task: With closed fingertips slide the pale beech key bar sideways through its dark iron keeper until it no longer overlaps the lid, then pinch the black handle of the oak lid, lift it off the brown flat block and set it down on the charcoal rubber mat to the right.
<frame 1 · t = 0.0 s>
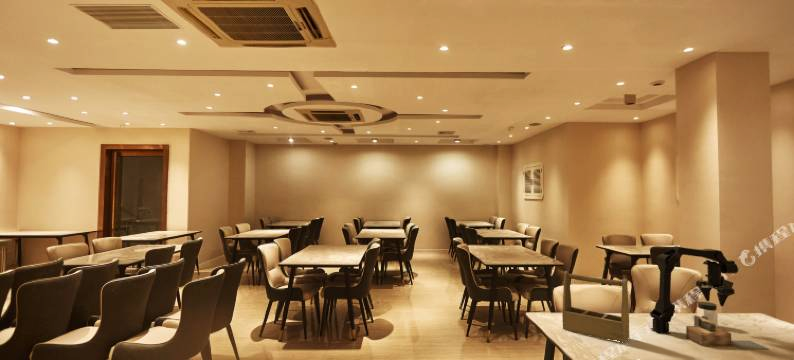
hand: (714, 303, 208), 15 cm above the table, fingers open, 9 cm apart
keeper: (701, 334, 204), on the table
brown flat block: (708, 341, 194), on the table
key: (704, 321, 202), point 7 cm above the table, slide at 0.0 cm
lid: (708, 333, 194), point 4 cm above the table, touching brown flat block
jar: (707, 326, 217), on the table
caddy: (594, 334, 204), on the table
mat: (745, 345, 190), on the table
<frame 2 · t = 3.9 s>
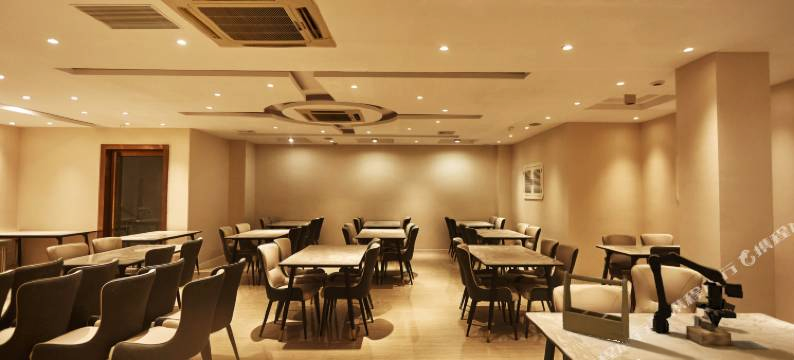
hand: (715, 327, 195), 7 cm above the table, fingers closed
key: (703, 321, 203), point 7 cm above the table, slide at 0.3 cm, touching gripper
everything else where it was.
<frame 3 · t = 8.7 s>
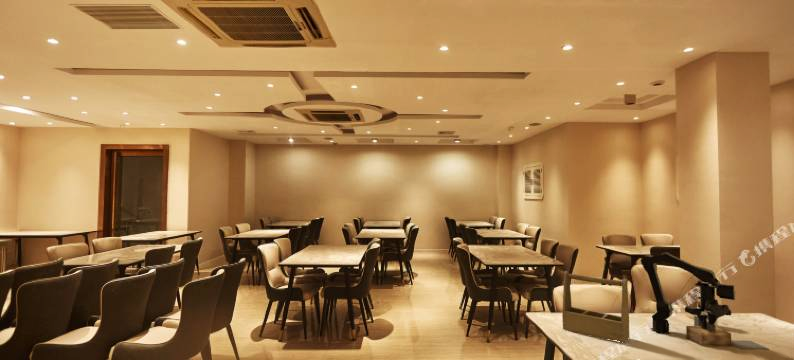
hand: (708, 328, 194), 7 cm above the table, fingers closed on lid, 3 cm apart
key: (697, 318, 207), point 7 cm above the table, slide at 4.6 cm
lid: (708, 333, 194), point 4 cm above the table, touching gripper, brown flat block
everything else where it was.
when the fingers open (4 cm above the table, at t = 12.4 s): lid drops 1 cm, resting on mat.
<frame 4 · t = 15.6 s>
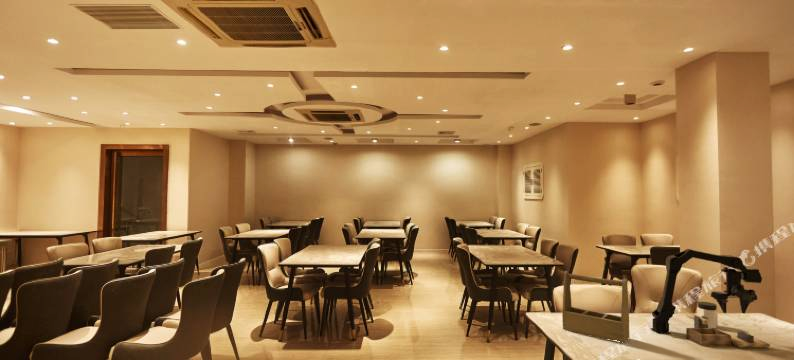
hand: (734, 313, 198), 13 cm above the table, fingers open, 9 cm apart
lid: (745, 344, 190), resting on mat
everything else where it was.
at the end: key slide at 4.6 cm; lid inside the target area (0.1 cm from its centre), resting on mat; lid tilted 0° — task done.
